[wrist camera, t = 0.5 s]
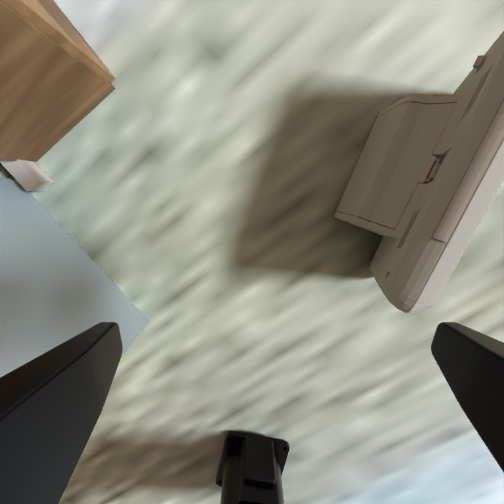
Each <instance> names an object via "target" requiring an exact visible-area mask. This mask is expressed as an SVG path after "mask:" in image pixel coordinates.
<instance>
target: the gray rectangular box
mask: <svg viewBox="0 0 504 504" xmlns="http://www.w3.org/2000/svg"><path fill="white" fill-rule="evenodd" d="M100 322H116V323H118V325H119V329H120V334H121V340H122V345H123V351H122V356H123V355H124V353H125V352H126V351H127V350H128V348H129V347H130V346H131V344H132V343H133V342H134V341H135V339H136V338H137V337H138V335H139V334H140V333H141V331H142V330H143V329H144V328H145V326H146V325H147V324H148V322H149V320H148V319H147V318H146V317H145V316H144V315H143V313H142V312H141V311H140V310H139V309H138V308H137V307H136V306H135V305H134V304H133V303H132V302H131V301H130V299H129V298H128V297H127V296H126V295H125V294H124V293H123V292H122V291H121V290H120V289H119V288H118V287H117V285H116V284H115V283H114V282H113V281H112V280H111V279H110V278H109V277H108V276H107V275H106V274H105V273H104V271H103V270H102V269H101V268H100V267H99V266H98V265H97V264H96V263H95V262H94V261H93V260H92V259H91V257H90V256H89V255H88V254H87V253H86V252H85V251H84V250H83V249H82V248H81V247H80V246H79V244H78V243H77V242H76V241H75V240H74V239H73V238H72V237H71V236H70V235H69V234H68V233H67V232H66V230H65V229H64V228H63V227H62V226H61V225H60V224H59V223H58V222H57V221H56V220H55V219H54V218H53V216H52V215H51V214H50V213H49V212H48V211H47V210H46V209H45V208H44V207H43V206H42V205H41V204H40V202H39V201H38V200H37V199H36V198H35V197H34V196H33V195H32V194H31V193H30V192H29V191H26V190H25V189H24V188H23V187H22V186H21V184H20V183H19V182H18V181H17V180H16V179H2V178H0V377H2V376H4V375H6V374H7V373H9V372H11V371H13V370H15V369H16V368H18V367H20V366H22V365H24V364H26V363H27V362H29V361H31V360H33V359H35V358H36V357H38V356H40V355H42V354H44V353H45V352H47V351H49V350H51V349H53V348H55V347H56V346H58V345H60V344H62V343H64V342H65V341H67V340H69V339H71V338H73V337H74V336H76V335H78V334H80V333H82V332H84V331H85V330H87V329H89V328H91V327H93V326H94V325H96V324H98V323H100ZM122 356H121V357H122ZM120 359H121V358H120Z"/></svg>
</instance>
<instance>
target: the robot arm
mask: <svg viewBox="0 0 504 504" xmlns="http://www.w3.org/2000/svg"><path fill="white" fill-rule="evenodd" d="M122 351H123V345H122V340H121V334H120V329H119V325H118V323H116V322H100V323H98V324H96V325H94V326H93V327H91V328H89V329H87V330H85V331H84V332H82V333H80V334H78V335H76V336H74V337H73V338H71V339H69V340H67V341H65V342H64V343H62V344H60V345H58V346H56V347H55V348H53V349H51V350H49V351H47V352H45V353H44V354H42V355H40V356H38V357H36V358H35V359H33V360H31V361H29V362H27V363H26V364H24V365H22V366H20V367H18V368H16V369H15V370H13V371H11V372H9V373H7V374H6V375H4V376H2V377H0V504H58V503H59V501H60V498H61V496H62V494H63V492H64V490H65V488H66V486H67V484H68V482H69V479H70V477H71V475H72V473H73V471H74V469H75V467H76V465H77V462H78V460H79V458H80V456H81V454H82V452H83V450H84V448H85V446H86V443H87V441H88V439H89V437H90V435H91V433H92V431H93V429H94V426H95V424H96V422H97V420H98V418H99V416H100V413H101V411H102V409H103V406H104V404H105V401H106V398H107V395H108V392H109V390H110V387H111V384H112V381H113V378H114V375H115V373H116V370H117V367H118V364H119V361H120V358H121V356H122ZM431 351H432V354H433V356H434V358H435V360H436V362H437V364H438V366H439V368H440V369H441V371H442V373H443V375H444V377H445V379H446V380H447V382H448V384H449V386H450V388H451V390H452V392H453V393H454V395H455V397H456V399H457V401H458V402H459V404H460V406H461V408H462V409H463V411H464V412H465V414H466V416H467V417H468V419H469V420H470V422H471V423H472V425H473V426H474V428H475V429H476V431H477V432H478V434H479V435H480V437H481V439H482V440H483V442H484V443H485V445H486V446H487V448H488V449H489V451H490V452H491V454H492V455H493V457H494V458H495V460H496V461H497V463H498V464H499V466H500V467H501V469H502V471H503V472H504V343H503V342H501V341H498V340H496V339H494V338H491V337H489V336H487V335H484V334H482V333H480V332H477V331H475V330H473V329H470V328H468V327H466V326H463V325H461V324H459V323H455V322H442V323H440V324H439V325H438V326H437V329H436V332H435V335H434V338H433V341H432V344H431ZM230 437H232V438H230ZM288 452H289V444H288V442H286V441H281V440H275V439H270V438H264V437H259V436H253V435H247V434H242V433H236V432H228V433H227V435H226V439H225V443H224V447H223V451H222V455H221V460H220V464H219V468H218V472H217V477H216V484H217V485H218V486H222V492H221V503H220V504H284V499H283V490H282V480H281V475H282V472H283V469H284V465H285V462H286V459H287V455H288Z"/></svg>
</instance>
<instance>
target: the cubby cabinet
mask: <svg viewBox="0 0 504 504" xmlns="http://www.w3.org/2000/svg"><path fill="white" fill-rule="evenodd" d="M114 79H115V78H114V76H113V75H112V74H111V73H110V71H109V70H108V69H107V68H106V66H105V65H104V64H103V63H102V61H101V60H100V59H99V57H98V56H97V55H96V54H95V52H94V51H93V50H92V49H91V47H90V46H89V45H88V44H87V42H86V41H85V40H84V39H83V37H82V36H81V35H80V33H79V32H78V31H77V30H76V28H75V27H74V26H73V25H72V23H71V22H70V21H69V20H68V18H67V17H66V16H65V15H64V13H63V12H62V11H61V9H60V8H59V7H58V6H57V4H56V3H55V2H54V1H53V0H0V163H1V164H2V165H3V166H4V167H5V168H6V169H7V170H8V172H9V173H10V174H11V175H12V176H13V177H14V178H15V179H16V180H17V181H18V182H19V183H20V184H21V186H22V187H23V188H24V189H25V190H26V191H45V190H46V189H47V188H48V187H49V186H50V185H52V184H53V183H54V181H53V180H52V179H51V178H50V177H49V176H48V175H47V174H46V172H45V171H44V170H43V169H42V168H41V167H40V166H39V165H38V164H37V163H36V161H38V160H39V159H40V158H41V157H42V156H43V155H44V154H45V153H46V152H47V151H48V150H49V149H51V148H52V147H53V146H54V145H55V144H56V143H57V142H58V141H59V140H60V139H61V138H62V137H63V136H65V135H66V134H67V133H68V132H69V131H70V130H71V129H72V128H73V127H74V126H75V125H76V124H78V123H79V122H80V121H81V120H82V119H83V118H84V117H85V116H86V115H87V114H88V113H89V112H90V111H92V110H93V109H94V108H95V107H96V106H97V105H98V104H99V103H100V102H101V101H102V100H103V99H105V98H106V97H107V96H108V95H109V94H110V93H111V92H112V91H113V90H114V89H115V88H114V87H113V86H112V84H111V82H112V81H113V80H114Z"/></svg>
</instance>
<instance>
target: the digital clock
mask: <svg viewBox="0 0 504 504" xmlns="http://www.w3.org/2000/svg"><path fill="white" fill-rule="evenodd" d="M473 68H474V69H473V70H472V71H471V72H470V74H469V75H468V76H467V77H466V78H465V80H464V81H463V82H462V83H461V85H460V86H459V87H458V88H457V90H456V91H455V92H454V94H452V95H442V96H425V95H418V94H412V95H408V96H405V97H403V98H401V99H400V100H398V101H396V102H395V103H393V104H391V105H390V106H388V107H387V108H385V109H383V110H382V111H380V112H379V114H378V116H377V118H376V120H375V123H374V125H373V127H372V130H371V132H370V134H369V136H368V139H367V141H366V143H365V146H364V148H363V150H362V152H361V155H360V157H359V159H358V162H357V164H356V166H355V168H354V171H353V173H352V175H351V178H350V180H349V182H348V184H347V187H346V189H345V191H344V194H343V196H342V198H341V200H340V203H339V205H338V207H337V210H336V211H337V212H335V214H334V217H335V218H337V219H340V220H343V221H345V222H348V223H350V224H353V225H356V226H358V227H361V228H363V229H366V230H368V231H371V232H374V233H376V234H379V235H381V236H383V238H382V240H381V242H380V244H379V246H378V248H377V250H376V253H375V255H374V257H373V259H372V261H371V264H370V271H371V272H372V274H373V276H374V278H375V280H376V281H377V283H378V285H379V286H380V288H381V290H382V292H383V293H384V295H385V296H386V297H387V299H388V300H389V301H390V303H391V304H393V305H394V306H395V307H396V308H397V309H399V310H401V311H403V312H405V313H411V312H416V311H420V310H424V309H428V308H430V307H432V305H433V304H434V303H435V302H436V300H437V299H438V297H439V295H440V293H441V292H442V290H443V288H444V286H445V285H446V283H447V281H448V279H449V278H450V276H451V274H452V272H453V271H454V269H455V267H456V265H457V263H458V262H459V260H460V258H461V256H462V254H463V253H464V251H465V249H466V247H467V245H468V244H469V242H470V240H471V238H472V236H473V235H474V233H475V231H476V229H477V227H478V226H479V224H480V222H481V220H482V218H483V216H484V215H485V213H486V211H487V209H488V207H489V206H490V204H491V202H492V200H493V198H494V197H495V195H496V193H497V191H498V189H499V188H500V186H501V184H502V182H503V180H504V31H503V33H502V34H501V35H500V36H499V38H498V39H497V40H496V41H495V42H494V44H493V45H492V46H491V47H490V49H489V50H488V51H487V52H486V54H485V55H483V56H478V57H477V59H476V61H475V63H474V65H473Z"/></svg>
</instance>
